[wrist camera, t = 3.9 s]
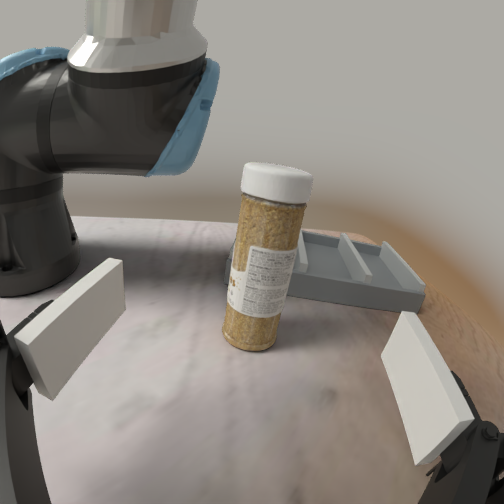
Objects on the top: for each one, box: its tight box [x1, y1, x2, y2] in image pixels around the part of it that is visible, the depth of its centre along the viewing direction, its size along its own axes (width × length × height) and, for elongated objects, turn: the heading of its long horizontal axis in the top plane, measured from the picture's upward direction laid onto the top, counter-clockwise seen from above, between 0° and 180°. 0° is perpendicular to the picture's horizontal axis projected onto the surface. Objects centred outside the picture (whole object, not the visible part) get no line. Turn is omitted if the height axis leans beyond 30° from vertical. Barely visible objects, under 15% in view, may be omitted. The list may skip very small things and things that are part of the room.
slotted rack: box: [224, 229, 426, 314], centre depth 37 cm, size 23×16×4 cm
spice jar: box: [222, 162, 313, 351], centre depth 20 cm, size 5×5×14 cm
